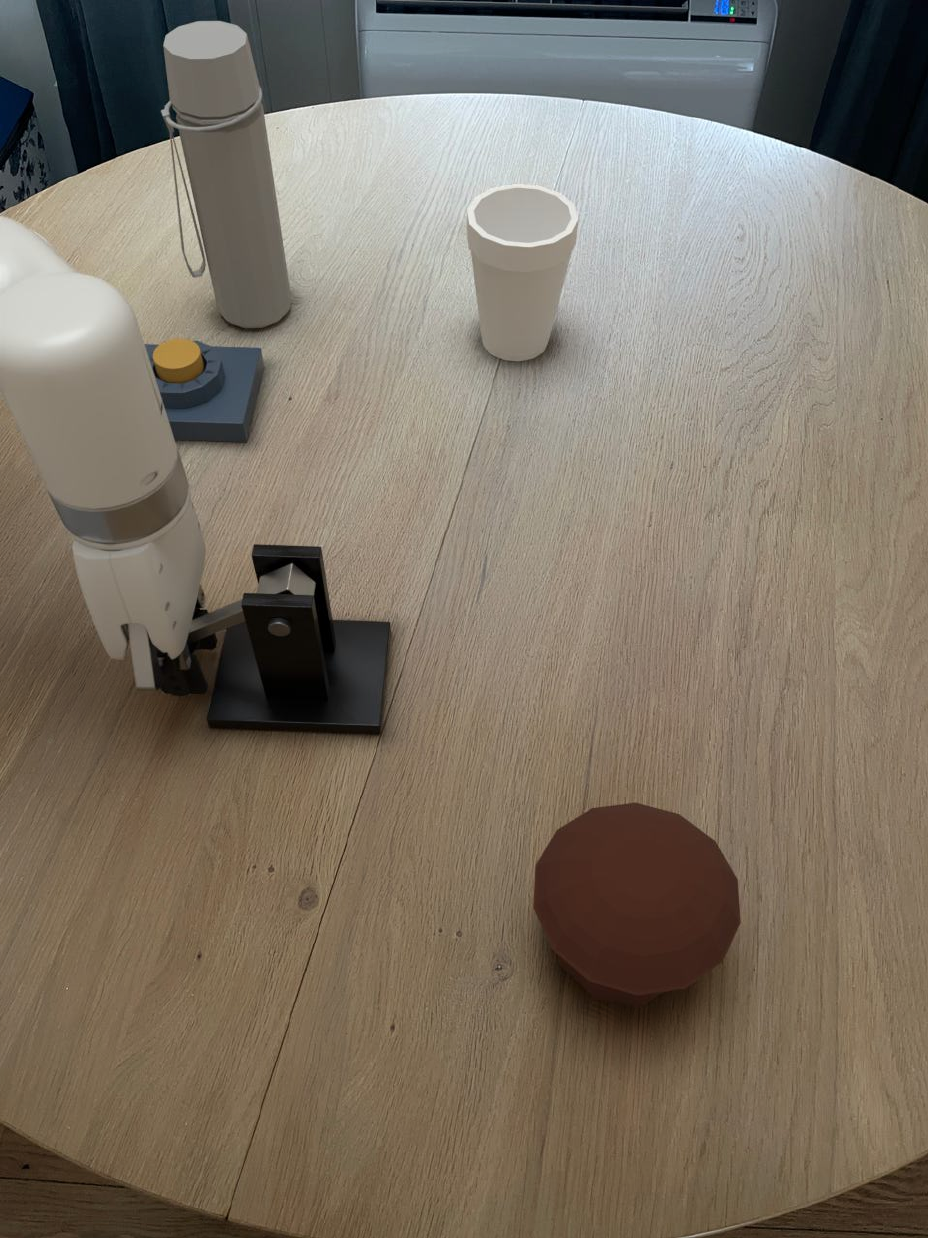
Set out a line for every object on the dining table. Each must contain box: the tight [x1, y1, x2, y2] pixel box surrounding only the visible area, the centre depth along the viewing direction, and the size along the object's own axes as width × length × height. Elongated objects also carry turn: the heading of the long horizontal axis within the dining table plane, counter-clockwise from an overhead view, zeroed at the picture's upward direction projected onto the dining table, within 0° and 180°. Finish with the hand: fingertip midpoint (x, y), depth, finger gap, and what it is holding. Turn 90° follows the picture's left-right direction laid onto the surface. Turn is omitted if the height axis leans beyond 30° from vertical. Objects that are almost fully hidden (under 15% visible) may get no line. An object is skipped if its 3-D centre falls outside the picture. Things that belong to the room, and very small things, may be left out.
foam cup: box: [466, 183, 579, 362], centre depth 93 cm, size 10×9×13 cm
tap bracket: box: [206, 543, 392, 736], centre depth 70 cm, size 12×9×12 cm
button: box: [153, 337, 204, 384], centre depth 89 cm, size 4×4×2 cm
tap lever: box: [156, 563, 316, 655], centre depth 69 cm, size 13×3×3 cm
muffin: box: [532, 802, 742, 1009], centre depth 60 cm, size 12×11×10 cm
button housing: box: [144, 340, 265, 443], centre depth 91 cm, size 12×10×4 cm
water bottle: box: [160, 20, 292, 329], centre depth 90 cm, size 9×8×25 cm
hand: (190, 666), depth 74 cm, fingers closed on tap lever, 3 cm apart
